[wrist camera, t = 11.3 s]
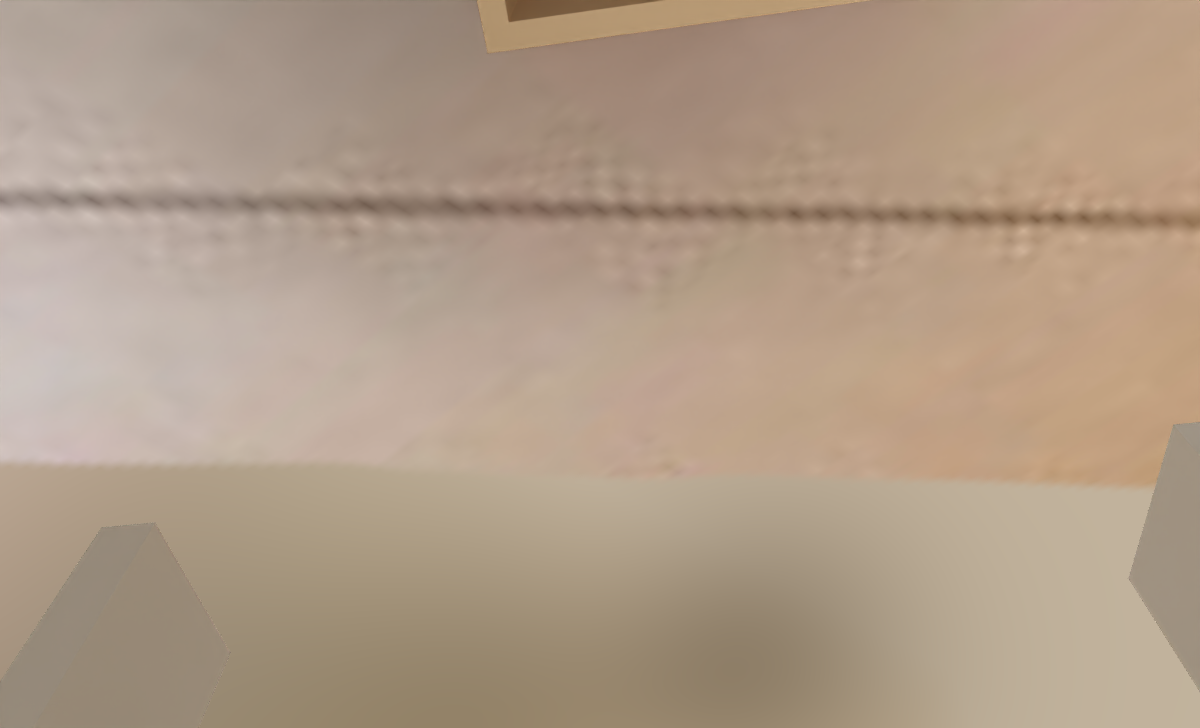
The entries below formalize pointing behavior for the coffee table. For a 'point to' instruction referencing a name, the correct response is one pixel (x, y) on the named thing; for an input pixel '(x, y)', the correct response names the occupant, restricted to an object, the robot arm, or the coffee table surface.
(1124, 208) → the coffee table surface
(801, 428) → the coffee table surface
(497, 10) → the carton
